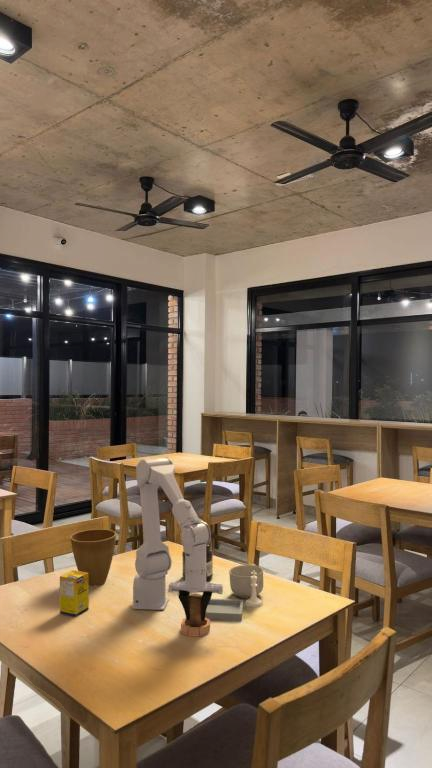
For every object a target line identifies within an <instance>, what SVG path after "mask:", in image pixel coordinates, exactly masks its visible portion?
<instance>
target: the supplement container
mask: <svg viewBox="0 0 432 768" xmlns="http://www.w3.org/2000/svg"><path fill="white" fill-rule="evenodd" d="M181 556H182V574H181V575H182V578H183V579H184V580H185V552H184V550H182V554H181ZM213 556H214V552H213V550H212V541H211V540H210V541H209V542H208V543H206V582H208V581H210V580H211V579H212V578H213V575H214V572H213V569H214V567H213V566H214V565H213V563H214V562H213V558H214V557H213Z"/></svg>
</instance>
